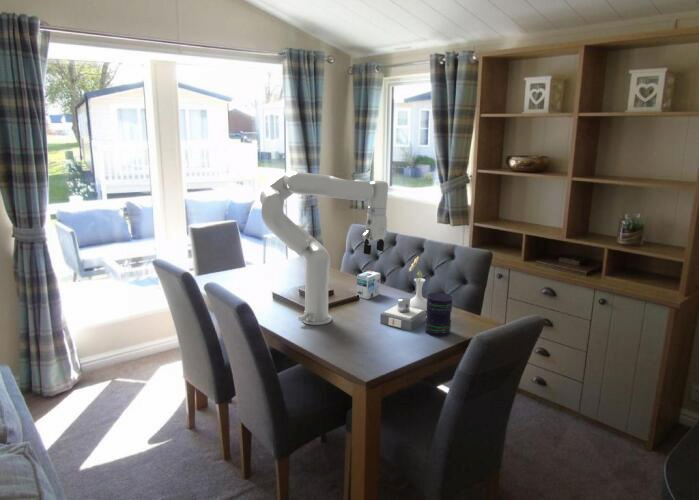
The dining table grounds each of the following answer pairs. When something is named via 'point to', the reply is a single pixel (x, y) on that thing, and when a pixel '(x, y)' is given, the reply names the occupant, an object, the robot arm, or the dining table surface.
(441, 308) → the storage jar
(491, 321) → the dining table surface
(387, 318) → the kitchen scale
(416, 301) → the flower in vase
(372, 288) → the light bulb box
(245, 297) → the dining table surface
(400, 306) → the steel weight
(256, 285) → the dining table surface
